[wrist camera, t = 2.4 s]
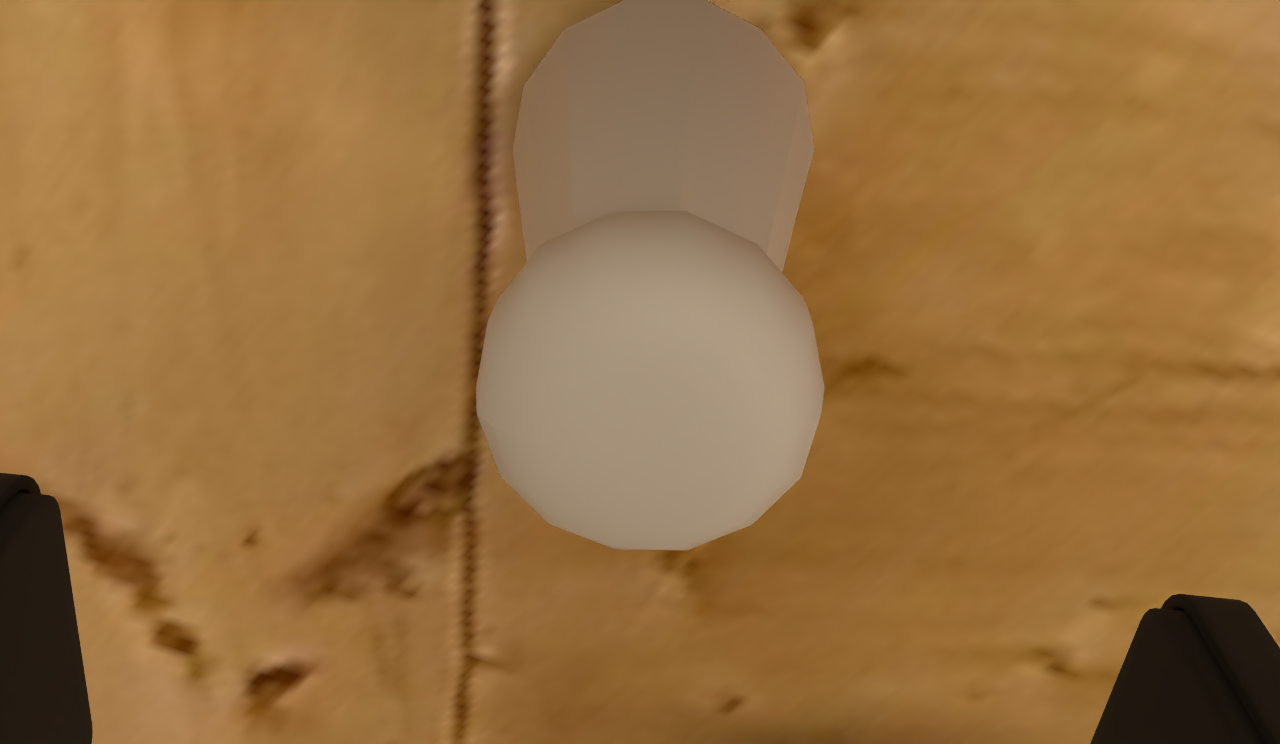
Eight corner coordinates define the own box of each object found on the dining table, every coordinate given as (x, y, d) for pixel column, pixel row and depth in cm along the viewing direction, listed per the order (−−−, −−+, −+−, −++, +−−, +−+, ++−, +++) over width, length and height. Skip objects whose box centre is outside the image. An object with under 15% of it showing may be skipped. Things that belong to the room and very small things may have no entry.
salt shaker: (642, -91, 23) (601, 87, 12) (859, 88, 25) (1010, 400, 13) (476, 137, 25) (307, 471, 14) (684, 287, 27) (683, 699, 16)
